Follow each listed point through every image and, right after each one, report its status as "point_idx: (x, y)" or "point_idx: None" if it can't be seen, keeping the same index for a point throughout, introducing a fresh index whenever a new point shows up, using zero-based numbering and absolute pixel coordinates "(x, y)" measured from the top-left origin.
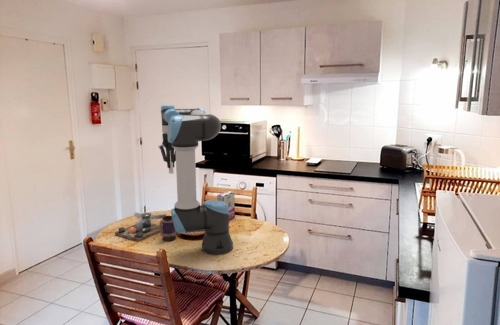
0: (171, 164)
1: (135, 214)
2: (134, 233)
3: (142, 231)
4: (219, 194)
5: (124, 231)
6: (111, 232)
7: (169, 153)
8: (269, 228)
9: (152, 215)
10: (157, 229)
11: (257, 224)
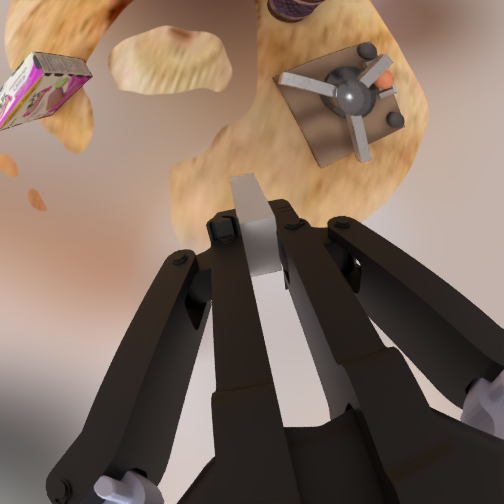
0: (259, 208)
1: (368, 151)
2: None
3: (355, 68)
4: (32, 83)
5: (388, 114)
6: (400, 152)
7: (331, 314)
8: (20, 4)
9: (330, 94)
10: (306, 69)
11: (23, 32)
